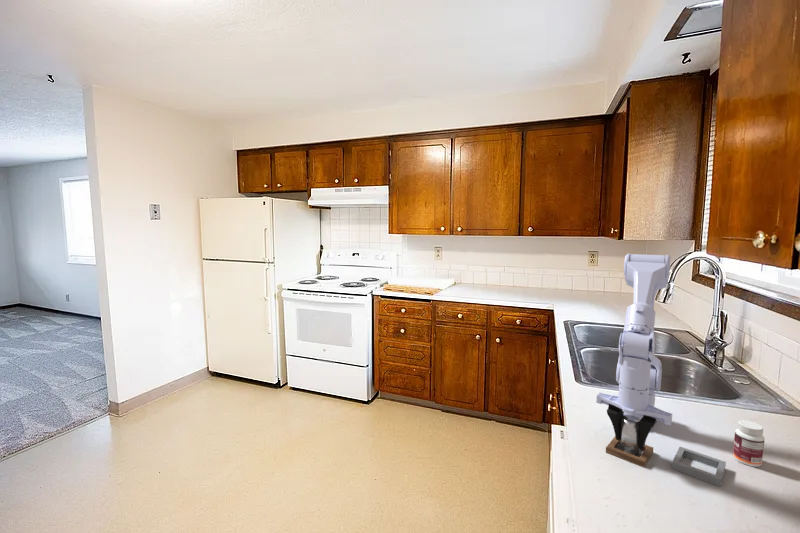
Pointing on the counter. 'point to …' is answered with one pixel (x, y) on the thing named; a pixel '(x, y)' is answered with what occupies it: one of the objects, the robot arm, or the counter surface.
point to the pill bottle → (749, 443)
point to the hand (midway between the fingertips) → (629, 442)
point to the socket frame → (629, 457)
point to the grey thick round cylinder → (630, 435)
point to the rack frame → (699, 473)
